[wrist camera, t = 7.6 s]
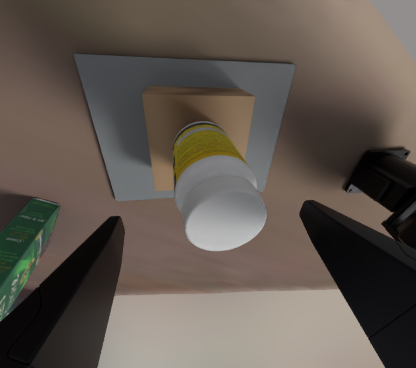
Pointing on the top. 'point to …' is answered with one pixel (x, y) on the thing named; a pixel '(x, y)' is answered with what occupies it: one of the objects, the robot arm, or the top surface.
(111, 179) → the build mat
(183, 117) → the base block
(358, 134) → the top surface
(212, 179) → the supplement bottle
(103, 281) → the robot arm
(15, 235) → the coffee box
